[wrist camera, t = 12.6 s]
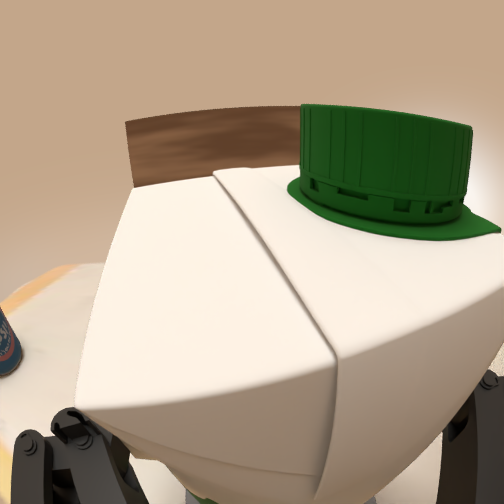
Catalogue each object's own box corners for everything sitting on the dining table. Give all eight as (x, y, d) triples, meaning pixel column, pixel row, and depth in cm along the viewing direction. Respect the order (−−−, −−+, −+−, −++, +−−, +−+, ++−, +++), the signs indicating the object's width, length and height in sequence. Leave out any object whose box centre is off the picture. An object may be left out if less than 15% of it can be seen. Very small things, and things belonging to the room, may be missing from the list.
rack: (343, 410, 24) (401, 118, 12) (127, 424, 23) (12, 156, 11) (297, 280, 43) (299, 106, 32) (159, 291, 42) (129, 120, 30)
